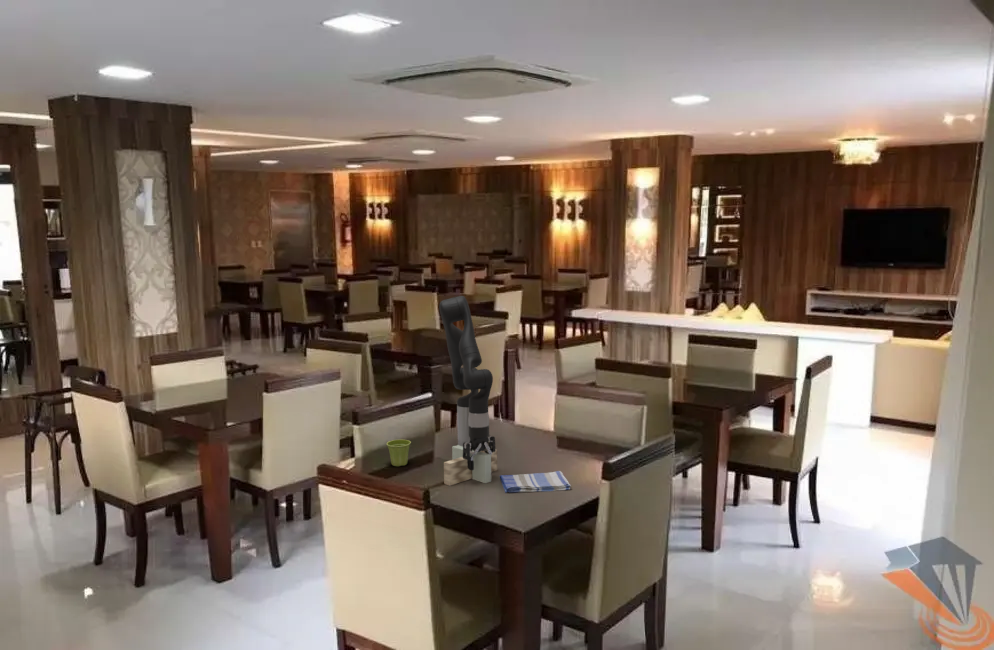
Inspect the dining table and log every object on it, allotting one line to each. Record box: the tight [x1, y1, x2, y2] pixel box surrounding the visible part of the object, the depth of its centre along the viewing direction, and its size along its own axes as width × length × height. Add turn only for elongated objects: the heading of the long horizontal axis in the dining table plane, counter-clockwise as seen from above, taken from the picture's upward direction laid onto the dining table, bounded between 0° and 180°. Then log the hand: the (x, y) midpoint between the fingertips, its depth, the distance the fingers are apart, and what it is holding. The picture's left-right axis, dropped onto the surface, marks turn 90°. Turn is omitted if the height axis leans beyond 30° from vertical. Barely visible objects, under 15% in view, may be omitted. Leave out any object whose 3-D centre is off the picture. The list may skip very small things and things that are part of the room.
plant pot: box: [386, 439, 412, 467], centre depth 287 cm, size 9×9×9 cm
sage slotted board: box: [451, 444, 492, 484], centre depth 270 cm, size 3×18×10 cm, turn 44°
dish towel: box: [499, 470, 572, 494], centre depth 262 cm, size 17×24×3 cm
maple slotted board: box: [443, 448, 498, 486], centre depth 270 cm, size 24×3×8 cm, turn 135°
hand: (479, 467), depth 267 cm, fingers open, 8 cm apart
